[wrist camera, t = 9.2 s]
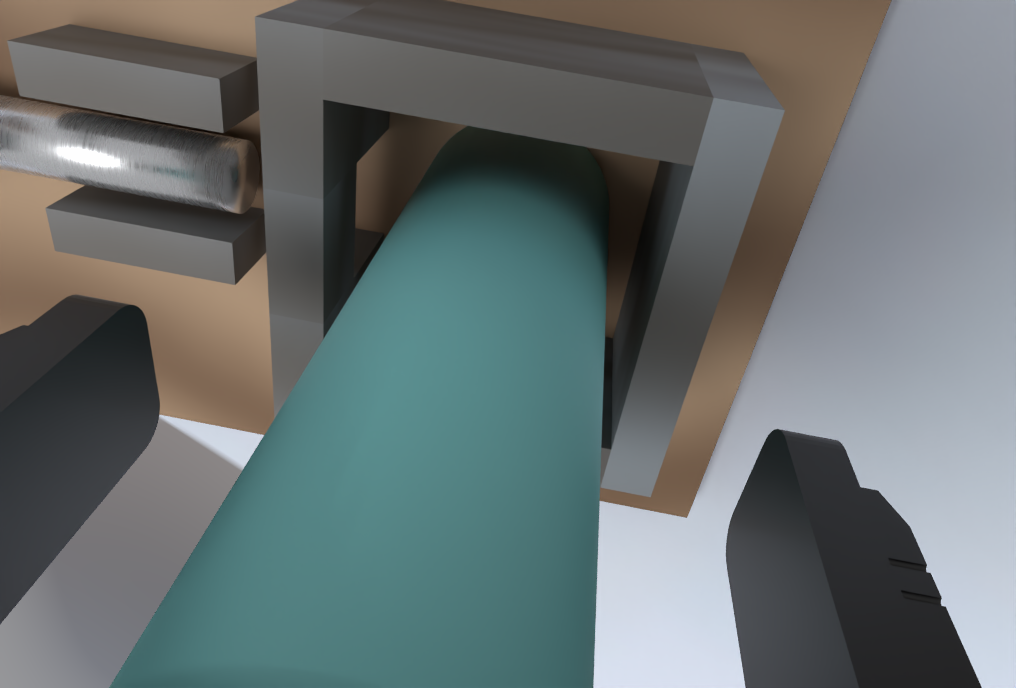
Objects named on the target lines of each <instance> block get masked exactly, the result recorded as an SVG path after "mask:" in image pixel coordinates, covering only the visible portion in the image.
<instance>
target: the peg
mask: <svg viewBox="0 0 1016 688" xmlns="http://www.w3.org/2000/svg"><path fill="white" fill-rule="evenodd" d="M608 231H609V195H608V189H607V185H606V181H605V178H604V176H603V173H602V171H601V168H600V167H599V165H598V163H597V162H596V160H595V158H594V157H593V155H592V154H591V153H590V152H589V150H588V149H587V148H586V147H583V146H578V145H572V144H567V143H561V142H556V141H550V140H545V139H539V138H533V137H528V136H522V135H517V134H511V133H506V132H500V131H495V130H489V129H484V128H478V127H472V126H467V127H465V128H463V129H462V130H460V131H459V132H457V133H456V134H455V135H454V136H453V137H451V138H450V139H449V140H448V141H447V142H446V143H445V145H444V146H443V147H442V148H441V149H440V151H439V152H438V154H437V155H436V157H435V158H434V160H433V162H432V163H431V165H430V167H429V168H428V170H427V171H426V173H425V175H424V176H423V178H422V180H421V181H420V183H419V184H418V186H417V188H416V189H415V191H414V193H413V194H412V196H411V197H410V199H409V201H408V202H407V204H406V206H405V207H404V209H403V210H402V212H401V214H400V215H399V217H398V219H397V220H396V222H395V223H394V225H393V227H392V228H391V230H390V232H389V233H388V235H387V236H386V238H385V240H384V241H383V243H382V245H381V246H380V248H379V250H378V251H377V253H376V254H375V256H374V258H373V259H372V261H371V263H370V264H369V266H368V267H367V269H366V271H365V272H364V274H363V276H362V277H361V279H360V280H359V282H358V284H357V285H356V287H355V289H354V290H353V292H352V293H351V295H350V297H349V298H348V300H347V302H346V303H345V305H344V306H343V308H342V310H341V311H340V313H339V315H338V316H337V318H336V319H335V321H334V323H333V324H332V326H331V328H330V329H329V331H328V332H327V334H326V336H325V337H324V339H323V341H322V342H321V344H320V346H319V347H318V349H317V350H316V352H315V354H314V355H313V357H312V359H311V360H310V362H309V363H308V365H307V367H306V368H305V370H304V372H303V373H302V375H301V376H300V378H299V380H298V381H297V383H296V385H295V386H294V388H293V389H292V391H291V393H290V394H289V396H288V398H287V399H286V401H285V402H284V404H283V406H282V407H281V409H280V411H279V412H278V414H277V415H276V417H275V419H274V420H273V422H272V424H271V425H270V427H269V429H268V430H267V432H266V433H265V435H264V437H263V438H262V440H261V442H260V443H259V445H258V446H257V448H256V450H255V451H254V453H253V455H252V456H251V458H250V459H249V461H248V463H247V464H246V466H245V468H244V469H243V471H242V473H241V474H240V476H239V477H238V479H237V481H236V482H235V484H234V485H233V487H232V489H231V490H230V492H229V494H228V495H227V497H226V499H225V500H224V502H223V503H222V505H221V507H220V508H219V510H218V512H217V513H216V515H215V516H214V518H213V520H212V522H211V523H210V525H209V526H208V528H207V529H206V531H205V533H204V534H203V536H202V538H201V539H200V541H199V542H198V544H197V546H196V547H195V549H194V551H193V552H192V554H191V555H190V557H189V559H188V560H187V562H186V564H185V565H184V567H183V568H182V570H181V572H180V573H179V575H178V577H177V579H176V580H175V581H174V583H173V585H172V586H171V588H170V590H169V591H168V593H167V594H166V596H165V598H164V600H163V601H162V603H161V604H160V606H159V608H158V609H157V611H156V612H155V614H154V616H153V617H152V619H151V621H150V622H149V624H148V626H147V627H146V629H145V630H144V632H143V634H142V635H141V637H140V639H139V640H138V642H137V643H136V645H135V647H134V648H133V650H132V652H131V653H130V655H129V656H128V658H127V660H126V661H125V663H124V665H123V666H122V668H121V670H120V671H119V673H118V674H117V676H116V678H115V679H114V681H113V682H112V684H111V686H110V687H109V688H593V678H594V649H595V619H596V589H597V559H598V529H599V499H600V470H601V440H602V410H603V380H604V350H605V320H606V290H607V261H608Z"/></svg>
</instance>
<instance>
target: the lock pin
mask: <svg viewBox="0 0 1016 688" xmlns="http://www.w3.org/2000/svg"><path fill="white" fill-rule="evenodd" d="M0 169H2V170H7V171H12V172H18V173H23V174H29V175H34V176H39V177H45V178H50V179H55V180H61V181H66V182H72V183H77V184H82V185H88V186H93V187H98V188H104V189H109V190H115V191H120V192H125V193H131V194H136V195H141V196H147V197H152V198H158V199H163V200H168V201H174V202H179V203H184V204H190V205H195V206H201V207H206V208H211V209H217V210H222V211H227V212H233V213H238V214H243V213H245V212H246V211H247V210H248V209H249V208H250V206H251V205H252V203H253V201H254V198H255V195H256V192H257V188H258V183H259V172H260V167H259V157H258V153H257V150H256V147H255V146H254V144H253V143H252V142H251V141H249V140H244V139H238V138H233V137H228V136H222V135H217V134H211V133H206V132H200V131H195V130H189V129H184V128H178V127H173V126H167V125H162V124H156V123H151V122H145V121H140V120H135V119H129V118H124V117H118V116H113V115H107V114H102V113H96V112H91V111H85V110H80V109H74V108H69V107H63V106H58V105H52V104H47V103H42V102H36V101H31V100H25V99H20V98H14V97H9V96H3V95H0Z"/></svg>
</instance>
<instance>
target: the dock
mask: <svg viewBox="0 0 1016 688" xmlns="http://www.w3.org/2000/svg"><path fill="white" fill-rule="evenodd" d="M890 3H891V0H0V95H3V96H9V97H14V98H20V99H25V100H31V101H36V102H42V103H47V104H52V105H58V106H63V107H69V108H74V109H80V110H85V111H91V112H96V113H102V114H107V115H113V116H118V117H124V118H129V119H135V120H140V121H145V122H151V123H156V124H162V125H167V126H173V127H178V128H184V129H189V130H195V131H200V132H206V133H211V134H217V135H222V136H228V137H233V138H238V139H244V140H249V141H251V142H252V143H253V144H254V146H255V147H256V150H257V153H258V157H259V167H260V172H259V183H258V188H257V192H256V195H255V198H254V201H253V203H252V205H251V206H250V208H249V209H248V210H247V211H246V212H245V213H243V214H238V213H233V212H227V211H222V210H217V209H211V208H206V207H201V206H195V205H190V204H184V203H179V202H174V201H168V200H163V199H158V198H152V197H147V196H141V195H136V194H131V193H125V192H120V191H115V190H109V189H104V188H98V187H93V186H88V185H82V184H77V183H72V182H66V181H61V180H55V179H50V178H45V177H39V176H34V175H29V174H23V173H18V172H12V171H7V170H2V169H0V334H3V333H5V332H7V331H10V330H12V329H15V328H17V327H19V326H22V325H27V326H29V325H30V324H31V323H33V322H34V321H35V320H36V319H38V318H39V317H40V316H42V315H43V314H44V313H46V312H47V311H48V310H50V309H51V308H52V307H54V306H55V305H56V304H57V303H59V302H60V301H61V300H63V299H64V298H66V297H68V296H71V295H76V294H77V295H83V296H88V297H94V298H99V299H104V300H109V301H115V302H120V303H125V304H130V305H135V306H137V307H139V308H140V309H141V310H142V311H143V313H144V315H145V317H146V321H147V325H148V331H149V337H150V344H151V350H152V356H153V362H154V368H155V374H156V380H157V387H158V393H159V399H160V412H159V414H160V415H165V416H170V417H175V418H181V419H186V420H191V421H196V422H201V423H206V424H211V425H216V426H221V427H227V428H232V429H237V430H242V431H247V432H252V433H257V434H262V435H265V433H266V432H267V430H268V429H269V427H270V425H271V424H272V422H273V420H274V419H275V417H276V415H277V414H278V412H279V411H280V409H281V407H282V406H283V404H284V402H285V401H286V399H287V398H288V396H289V394H290V393H291V391H292V389H293V388H294V386H295V385H296V383H297V381H298V380H299V378H300V376H301V375H302V373H303V372H304V370H305V368H306V367H307V365H308V363H309V362H310V360H311V359H312V357H313V355H314V354H315V352H316V350H317V349H318V347H319V346H320V344H321V342H322V341H323V339H324V337H325V336H326V334H327V332H328V331H329V329H330V328H331V326H332V324H333V323H334V321H335V319H336V318H337V316H338V315H339V313H340V311H341V310H342V308H343V306H344V305H345V303H346V302H347V300H348V298H349V297H350V295H351V293H352V292H353V290H354V289H355V287H356V285H357V284H358V282H359V280H360V279H361V277H362V276H363V274H364V272H365V271H366V269H367V267H368V266H369V264H370V263H371V261H372V259H373V258H374V256H375V254H376V253H377V251H378V250H379V248H380V246H381V245H382V243H383V241H384V240H385V238H386V236H387V235H388V233H389V232H390V230H391V228H392V227H393V225H394V223H395V222H396V220H397V219H398V217H399V215H400V214H401V212H402V210H403V209H404V207H405V206H406V204H407V202H408V201H409V199H410V197H411V196H412V194H413V193H414V191H415V189H416V188H417V186H418V184H419V183H420V181H421V180H422V178H423V176H424V175H425V173H426V171H427V170H428V168H429V167H430V165H431V163H432V162H433V160H434V158H435V157H436V155H437V154H438V152H439V151H440V149H441V148H442V147H443V146H444V145H445V143H446V142H447V141H448V140H449V139H450V138H451V137H453V136H454V135H455V134H456V133H457V132H459V131H460V130H462V129H463V128H465V127H467V126H472V127H478V128H484V129H489V130H495V131H500V132H506V133H511V134H517V135H522V136H528V137H533V138H539V139H545V140H550V141H556V142H561V143H567V144H572V145H578V146H583V147H586V148H587V149H588V150H589V152H590V153H591V154H592V155H593V157H594V158H595V160H596V162H597V163H598V165H599V167H600V168H601V171H602V173H603V176H604V178H605V181H606V185H607V189H608V195H609V231H608V261H607V290H606V320H605V350H604V380H603V410H602V440H601V470H600V499H599V501H604V502H609V503H615V504H620V505H625V506H630V507H635V508H640V509H645V510H650V511H655V512H660V513H666V514H671V515H676V516H681V517H686V518H687V516H688V514H689V511H690V509H691V506H692V504H693V501H694V499H695V496H696V494H697V491H698V489H699V486H700V484H701V481H702V478H703V476H704V473H705V471H706V468H707V466H708V463H709V461H710V458H711V456H712V453H713V451H714V448H715V446H716V443H717V441H718V438H719V435H720V433H721V430H722V428H723V425H724V423H725V420H726V418H727V415H728V413H729V410H730V408H731V405H732V403H733V400H734V397H735V395H736V392H737V390H738V387H739V385H740V382H741V380H742V377H743V375H744V372H745V370H746V367H747V365H748V362H749V360H750V357H751V354H752V352H753V349H754V347H755V344H756V342H757V339H758V337H759V334H760V332H761V329H762V327H763V324H764V322H765V319H766V316H767V314H768V311H769V309H770V306H771V304H772V301H773V299H774V296H775V294H776V291H777V289H778V286H779V284H780V281H781V279H782V276H783V273H784V271H785V268H786V266H787V263H788V261H789V258H790V256H791V253H792V251H793V248H794V246H795V243H796V241H797V238H798V235H799V233H800V230H801V228H802V225H803V223H804V220H805V218H806V215H807V213H808V210H809V208H810V205H811V203H812V200H813V198H814V195H815V192H816V190H817V187H818V185H819V182H820V180H821V177H822V175H823V172H824V170H825V167H826V165H827V162H828V160H829V157H830V154H831V152H832V149H833V147H834V144H835V142H836V139H837V137H838V134H839V132H840V129H841V127H842V124H843V122H844V119H845V117H846V114H847V111H848V109H849V106H850V104H851V101H852V99H853V96H854V94H855V91H856V89H857V86H858V84H859V81H860V79H861V76H862V74H863V71H864V68H865V66H866V63H867V61H868V58H869V56H870V53H871V51H872V48H873V46H874V43H875V41H876V38H877V36H878V33H879V30H880V28H881V25H882V23H883V20H884V18H885V15H886V13H887V10H888V8H889V5H890Z"/></svg>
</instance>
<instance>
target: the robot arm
mask: <svg viewBox="0 0 1016 688" xmlns="http://www.w3.org/2000/svg"><path fill="white" fill-rule="evenodd" d="M159 412H160V399H159V393H158V387H157V380H156V374H155V368H154V362H153V356H152V350H151V344H150V337H149V331H148V325H147V321H146V317H145V315H144V313H143V311H142V310H141V309H140V308H139V307H137V306H135V305H130V304H125V303H120V302H115V301H109V300H104V299H99V298H94V297H88V296H83V295H77V294H76V295H71V296H68V297H66V298H64V299H63V300H61V301H60V302H59V303H57V304H56V305H55V306H54V307H52V308H51V309H50V310H48V311H47V312H46V313H44V314H43V315H42V316H40V317H39V318H38V319H36V320H35V321H34V322H33V323H31V324H30V325H29V326H27V325H22V326H19V327H17V328H15V329H12V330H10V331H7V332H5V333H3V334H0V624H1V623H2V621H3V620H4V619H5V618H6V617H7V615H8V614H9V613H10V612H11V611H12V609H13V608H14V607H15V606H16V605H17V603H18V602H19V601H20V600H21V598H22V597H23V596H24V595H25V594H26V592H27V591H28V590H29V589H30V587H31V586H32V585H33V584H34V583H35V581H36V580H37V579H38V578H39V577H40V576H41V574H42V573H43V572H44V571H45V569H46V568H47V567H48V566H49V565H50V563H51V562H52V561H53V560H54V559H55V557H56V556H57V555H58V554H59V553H60V551H61V550H62V549H63V548H64V547H65V545H66V544H67V543H68V542H69V540H70V539H71V538H72V537H73V536H74V534H75V533H76V532H77V531H78V530H79V528H80V527H81V526H82V525H83V524H84V522H85V521H86V520H87V519H88V518H89V516H90V515H91V514H92V513H93V511H94V510H95V509H96V508H97V506H98V505H99V504H100V503H101V502H102V501H103V499H104V498H105V497H106V496H107V494H108V493H109V492H110V491H111V490H112V489H113V487H114V486H115V485H116V484H117V482H118V481H119V480H120V479H121V478H122V476H123V475H124V474H125V473H126V472H127V470H128V469H129V468H130V467H131V466H132V464H133V463H134V462H135V461H136V460H137V458H138V457H139V456H140V455H141V454H142V452H143V451H144V450H145V449H146V447H147V446H148V444H149V443H150V441H151V439H152V437H153V435H154V432H155V430H156V427H157V423H158V419H159ZM726 563H727V570H728V577H729V583H730V589H731V596H732V602H733V609H734V615H735V622H736V628H737V635H738V641H739V647H740V654H741V660H742V667H743V673H744V680H745V686H746V688H982V687H981V685H980V683H979V681H978V678H977V676H976V674H975V672H974V669H973V667H972V665H971V663H970V660H969V658H968V656H967V654H966V651H965V649H964V647H963V645H962V643H961V640H960V638H959V636H958V634H957V631H956V629H955V627H954V625H953V622H952V620H951V618H950V616H949V613H948V611H947V609H946V607H944V606H941V599H942V598H941V595H940V593H939V591H938V589H937V586H936V584H935V582H934V580H933V577H932V575H931V573H927V572H926V566H927V564H926V562H925V560H924V557H923V555H922V553H921V551H920V548H919V546H918V544H917V542H916V539H915V537H914V535H913V533H912V530H911V528H910V526H909V525H908V524H907V523H906V522H905V521H904V520H903V518H902V517H901V516H900V515H899V514H898V513H897V512H896V511H895V509H894V508H893V507H892V506H891V505H890V504H889V503H888V502H887V500H886V499H885V498H884V497H883V496H882V495H881V494H880V493H879V491H877V490H872V489H867V488H861V487H860V486H859V483H858V480H857V478H856V475H855V473H854V470H853V468H852V465H851V463H850V460H849V458H848V455H847V452H846V450H845V448H844V446H843V445H842V444H841V443H840V442H839V441H837V440H832V439H827V438H821V437H816V436H811V435H806V434H800V433H795V432H790V431H785V430H779V429H776V430H773V431H772V432H771V433H770V434H769V435H768V437H767V438H766V440H765V442H764V445H763V447H762V449H761V451H760V454H759V456H758V458H757V460H756V463H755V465H754V467H753V469H752V472H751V474H750V476H749V478H748V481H747V483H746V485H745V487H744V490H743V492H742V494H741V496H740V499H739V501H738V503H737V505H736V508H735V510H734V512H733V515H732V518H731V521H730V525H729V529H728V535H727V543H726Z"/></svg>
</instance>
